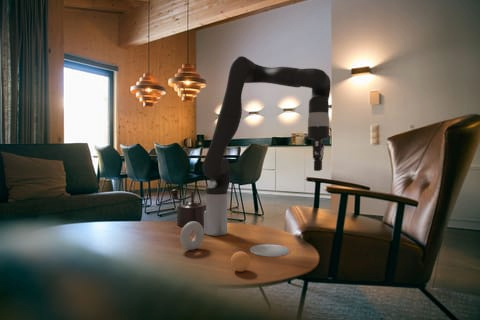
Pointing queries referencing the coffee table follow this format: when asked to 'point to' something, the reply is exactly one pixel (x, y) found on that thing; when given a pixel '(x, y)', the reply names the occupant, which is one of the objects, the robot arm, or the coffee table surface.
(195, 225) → the donut
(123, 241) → the coffee table surface
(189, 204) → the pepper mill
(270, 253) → the disc
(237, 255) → the ball
